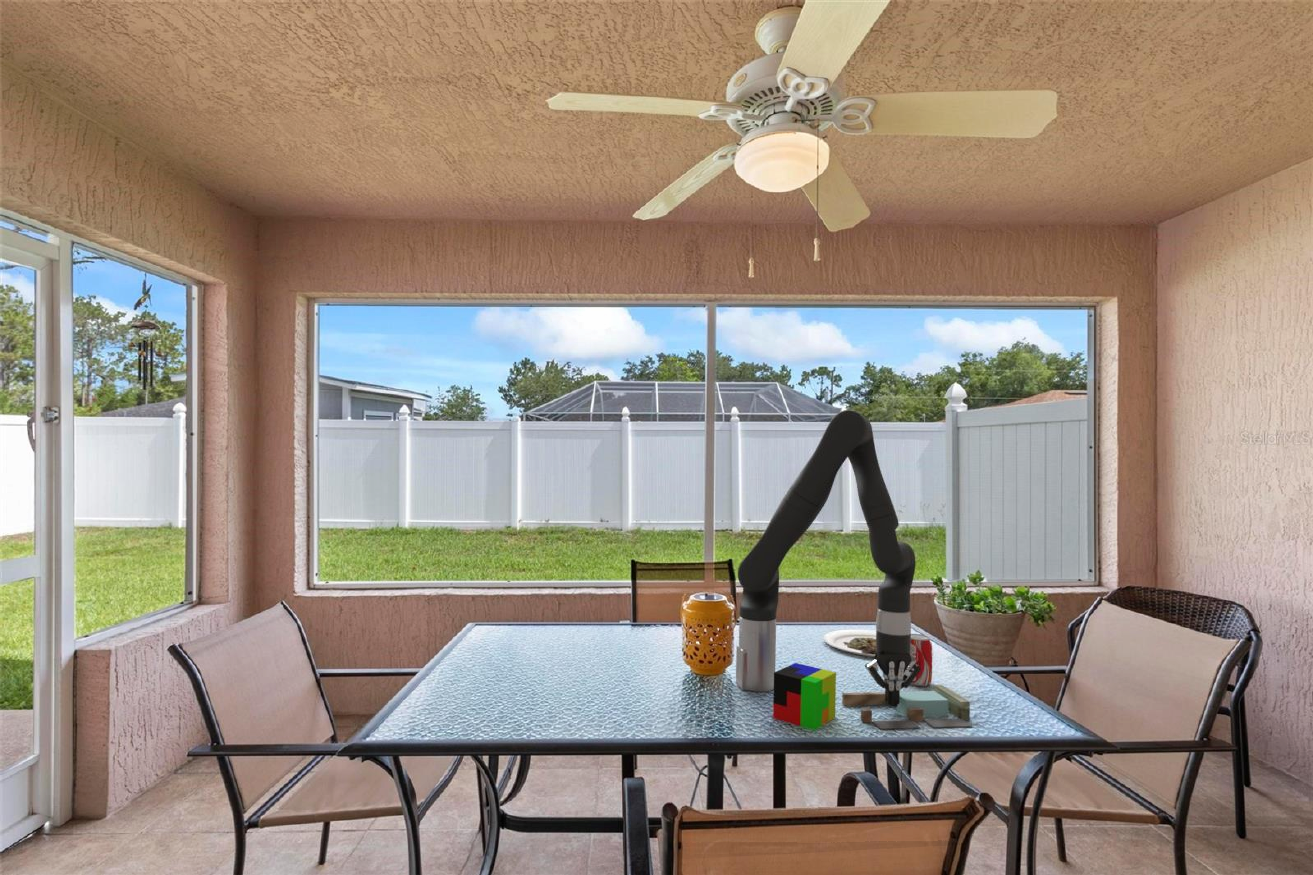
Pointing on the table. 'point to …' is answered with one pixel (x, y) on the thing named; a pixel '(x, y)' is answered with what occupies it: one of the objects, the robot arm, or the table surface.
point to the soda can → (921, 659)
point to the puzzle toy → (804, 695)
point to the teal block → (923, 703)
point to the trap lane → (912, 710)
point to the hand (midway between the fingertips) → (892, 705)
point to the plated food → (853, 641)
